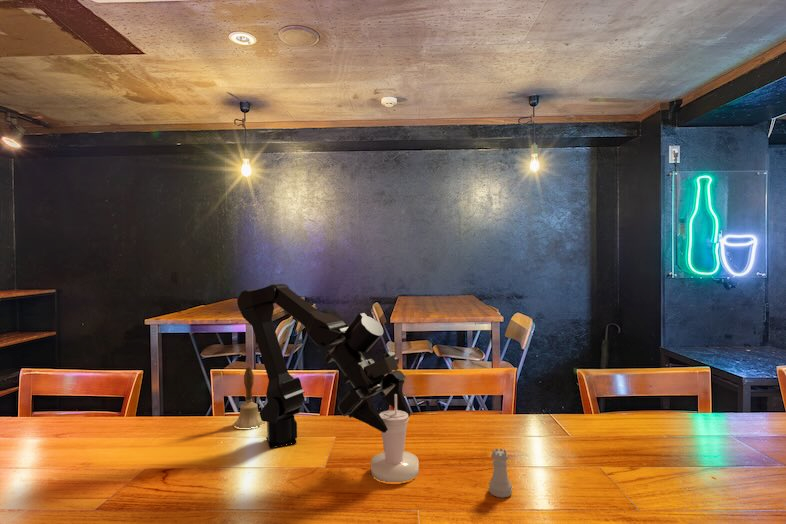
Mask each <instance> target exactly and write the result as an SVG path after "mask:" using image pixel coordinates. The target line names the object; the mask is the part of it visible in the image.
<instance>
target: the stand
mask: <svg viewBox="0 0 786 524" xmlns="http://www.w3.org/2000/svg"><path fill="white" fill-rule="evenodd" d="M419 464H420V462H419V458H418V456H417V455H415V454H413V453H412V452H408V451H405V450H404V455H403V462H402V463H400V464H388V463H387V462H386V461H385V454H384V451H382V452H380V453H378V454H376V455H374V456H372V459H371V460H370V472H371V473H370V475H371V474H372V475H371V477H372V476H373V477H375V478H376V479H378V480H380V481H385V482H403V481H407V480H411V479H412V478H414V477H416V476H417V475H418V472H419V471H420V469H419ZM419 473H420V472H419ZM418 476H419V475H418ZM373 477H372V478H373Z"/></svg>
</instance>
